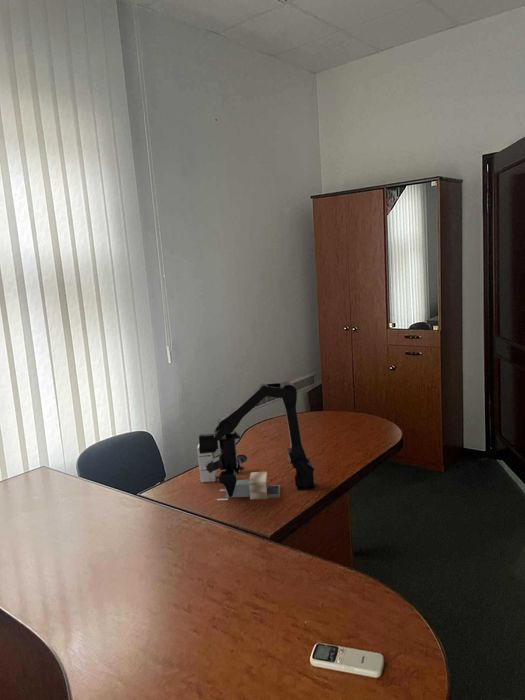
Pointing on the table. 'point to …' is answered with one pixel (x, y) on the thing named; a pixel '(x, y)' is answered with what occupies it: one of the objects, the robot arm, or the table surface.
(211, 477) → the syrup box
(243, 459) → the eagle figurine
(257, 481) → the tunnel
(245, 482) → the grey rectangular block
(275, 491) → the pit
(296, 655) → the table surface
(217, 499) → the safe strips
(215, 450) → the robot arm
